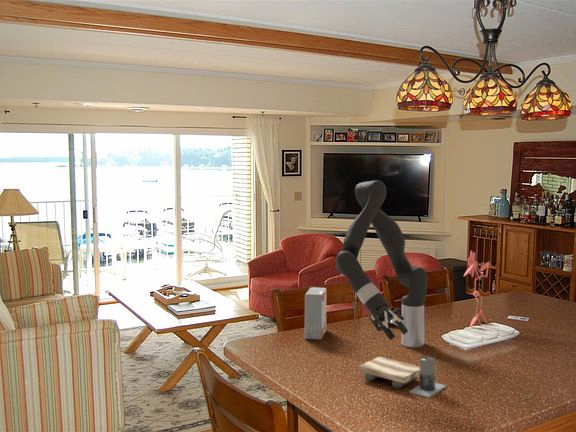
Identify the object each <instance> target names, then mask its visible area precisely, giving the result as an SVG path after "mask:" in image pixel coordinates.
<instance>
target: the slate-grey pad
mask: <svg viewBox="0 0 576 432" xmlns="http://www.w3.org/2000/svg"><path fill="white" fill-rule="evenodd" d="M445 388H447V386H446V385H444V384H442V383H438V382H435V390H433V391H425V390H422V389H420V384H419V385H418V386H415V387H414V388H413V389H411V390H409V393H410V394H413V395H416V396H421V397H424V398H427V399H430V398H431V397H433V396H435V395H436V394H437V393H439V392H441V391H442V390H444V389H445Z"/></svg>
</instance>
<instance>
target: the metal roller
mask: <svg viewBox="0 0 576 432" xmlns="http://www.w3.org/2000/svg"><path fill="white" fill-rule="evenodd" d="M419 366H420V375H419V385H420V389H422V390H425V391H433V390H435V383H436V359H435V358H434V357H433V356H432V357H431V356H421V357H420V358H419Z"/></svg>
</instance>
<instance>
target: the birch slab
mask: <svg viewBox="0 0 576 432" xmlns="http://www.w3.org/2000/svg"><path fill="white" fill-rule="evenodd" d="M358 370H359V372H360V373H361V372H362V373H364V379H365V380H366V382H372V381H374V380H376V379H378V378H382V379H386V380H389V381H392V382H391V387H392V388H393V389H394V390H399V389H401V388H403V387H405V386H407V385H408V384H410V383H412V382H414V381H415V380H417V378H418V377H420V365H417V364H416V365H415V364H412V363H407V362H403V361H399V360H395V359H391V358H388V357H383V356H378V357H375V358H373V359H371V360H369V361H367V362H364V363H362V364H359V366H358Z"/></svg>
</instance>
